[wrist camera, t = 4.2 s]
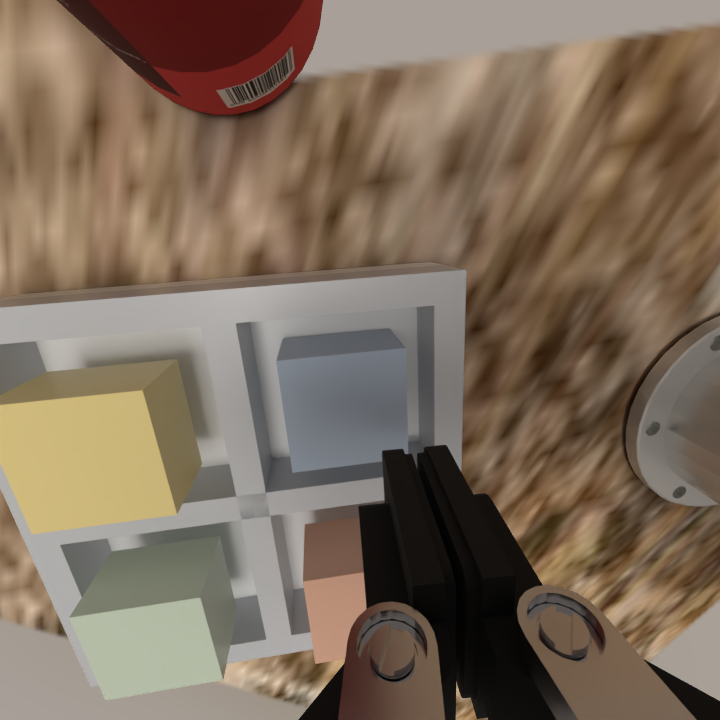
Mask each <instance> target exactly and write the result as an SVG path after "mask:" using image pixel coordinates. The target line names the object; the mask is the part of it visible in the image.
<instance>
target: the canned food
mask: <svg viewBox="0 0 720 720" xmlns="http://www.w3.org/2000/svg"><path fill="white" fill-rule="evenodd" d="M57 1H58V2H59V3H60V4H62V5H63V6H64V7H65V8H66V9H67V10H68V11H69V12H70V13H71V14H73V15H74V16H75V17H76V18H77V19H78V20H79V21H80V22H81V23H82V24H83V25H85V26H86V27H87V28H88V29H89V30H90V31H91V32H92V33H93V34H94V35H96V36H97V37H98V38H99V39H100V40H101V41H102V42H103V43H104V44H105V45H106V46H108V47H109V48H110V49H111V50H112V51H113V52H114V53H115V54H116V55H117V56H119V57H120V58H121V59H122V60H123V61H124V62H125V63H126V64H127V65H128V66H130V67H131V68H132V69H133V70H134V71H135V72H136V73H137V74H138V75H139V76H140V77H142V78H143V79H144V80H145V81H146V82H147V83H148V84H149V85H150V86H151V87H153V88H154V89H155V90H157V91H158V92H160V93H161V94H163V95H164V96H166V97H167V98H169V99H170V100H171V101H173V102H175V103H177V104H180V105H182V106H184V107H187V108H189V109H192V110H194V111H199V112H204V113H209V114H214V115H227V114H239V113H243V112H247V111H251V110H255V109H257V108H259V107H261V106H263V105H265V104H267V103H269V102H271V101H272V100H274V99H275V98H276V97H277V96H278V95H279V94H281V93H282V92H283V91H284V90H285V89H287V88H288V87H289V86H290V84H291V83H292V82H293V81H294V79H295V78H296V77H297V76H298V74H299V73H300V72H301V70H302V69H303V67H304V65H305V63H306V61H307V59H308V57H309V55H310V53H311V51H312V49H313V46H314V43H315V40H316V36H317V33H318V30H319V26H320V19H321V11H322V4H323V0H57Z"/></svg>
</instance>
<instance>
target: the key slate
mask: <svg viewBox="0 0 720 720" xmlns="http://www.w3.org/2000/svg"><path fill="white" fill-rule="evenodd" d="M276 364H277V371H278V377H279V384H280V391H281V398H282V405H283V411H284V418H285V425H286V432H287V438H288V445H289V452H290V459H291V466H292V472H293V473H295V472H303V471H311V470H319V469H326V468H334V467H342V466H350V465H358V464H366V463H374V462H381V461H382V450H393V449H403V450H404V453H405V454H408V419H407V383H406V348H405V347H404V346H403V344H402V343H401V342H400V341H399V340H398V338H397V337H396V336H395V335H394V334H393V332H392V331H391V330H390V329H380V330H369V331H359V332H348V333H337V334H327V335H316V336H306V337H295V338H284V339H283V340H282V343H281V346H280V350H279V353H278V356H277V360H276Z"/></svg>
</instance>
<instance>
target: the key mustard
mask: <svg viewBox="0 0 720 720" xmlns="http://www.w3.org/2000/svg"><path fill="white" fill-rule="evenodd" d="M0 464H1V466H2V468H3V470H4V473H5V475H6V477H7V479H8V482H9V484H10V486H11V488H12V491H13V493H14V495H15V497H16V500H17V502H18V504H19V506H20V509H21V511H22V513H23V515H24V518H25V520H26V522H27V525H28V527H29V529H30V531H31V534H38V533H45V532H53V531H60V530H68V529H75V528H83V527H90V526H98V525H105V524H113V523H120V522H128V521H135V520H143V519H150V518H157V517H165V516H172V515H177V514H178V512H179V510H180V508H181V506H182V504H183V502H184V500H185V498H186V496H187V494H188V492H189V490H190V488H191V486H192V484H193V482H194V480H195V478H196V475H197V473H198V471H199V469H200V467H201V465H202V461H201V456H200V452H199V448H198V444H197V440H196V435H195V431H194V427H193V423H192V419H191V415H190V410H189V406H188V402H187V398H186V394H185V389H184V385H183V381H182V377H181V373H180V368H179V364H178V360H177V359H173V360H163V361H153V362H142V363H132V364H122V365H111V366H101V367H91V368H80V369H70V370H60V371H49V372H45V373H43V374H41V375H39V376H37V377H35V378H33V379H31V380H29V381H27V382H25V383H23V384H21V385H19V386H17V387H15V388H13V389H11V390H9V391H7V392H5V393H3V394H1V395H0Z"/></svg>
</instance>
